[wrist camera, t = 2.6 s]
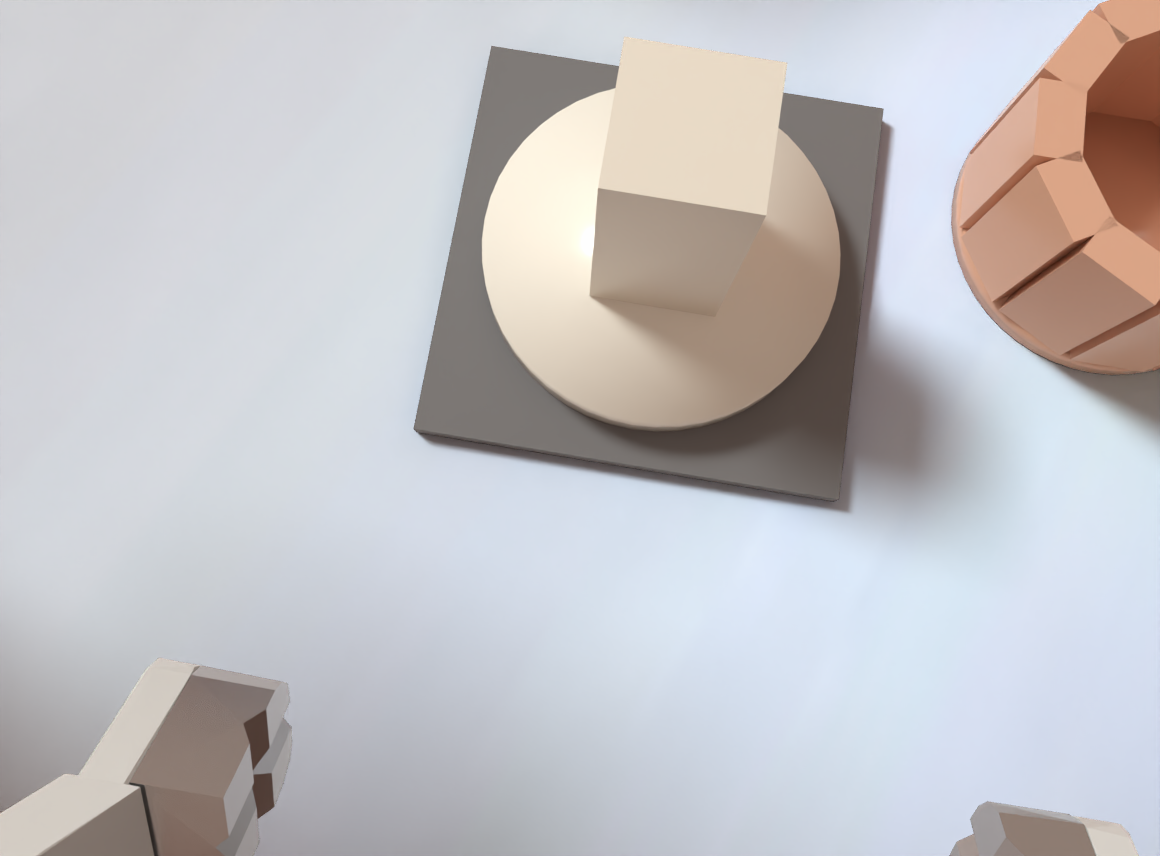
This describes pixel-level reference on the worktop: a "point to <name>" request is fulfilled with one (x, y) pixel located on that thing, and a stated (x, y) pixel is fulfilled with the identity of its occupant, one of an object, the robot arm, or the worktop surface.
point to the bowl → (1074, 200)
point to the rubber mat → (546, 425)
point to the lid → (663, 243)
